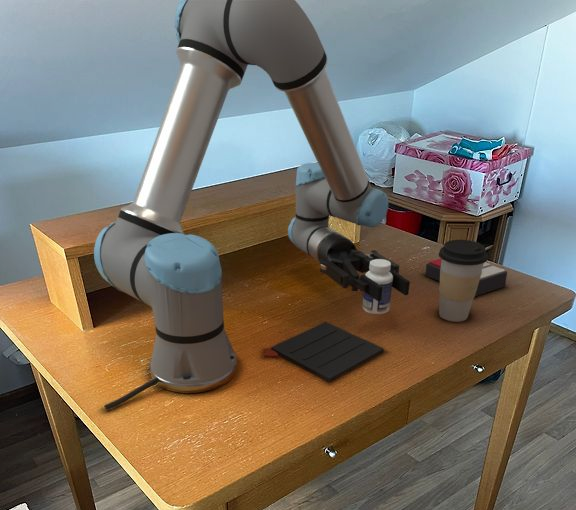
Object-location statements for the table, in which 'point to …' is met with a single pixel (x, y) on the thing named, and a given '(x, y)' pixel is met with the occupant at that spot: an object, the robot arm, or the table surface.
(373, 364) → the table surface
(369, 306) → the pill bottle
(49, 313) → the table surface
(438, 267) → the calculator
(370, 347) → the plate
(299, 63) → the robot arm
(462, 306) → the coffee cup
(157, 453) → the table surface
